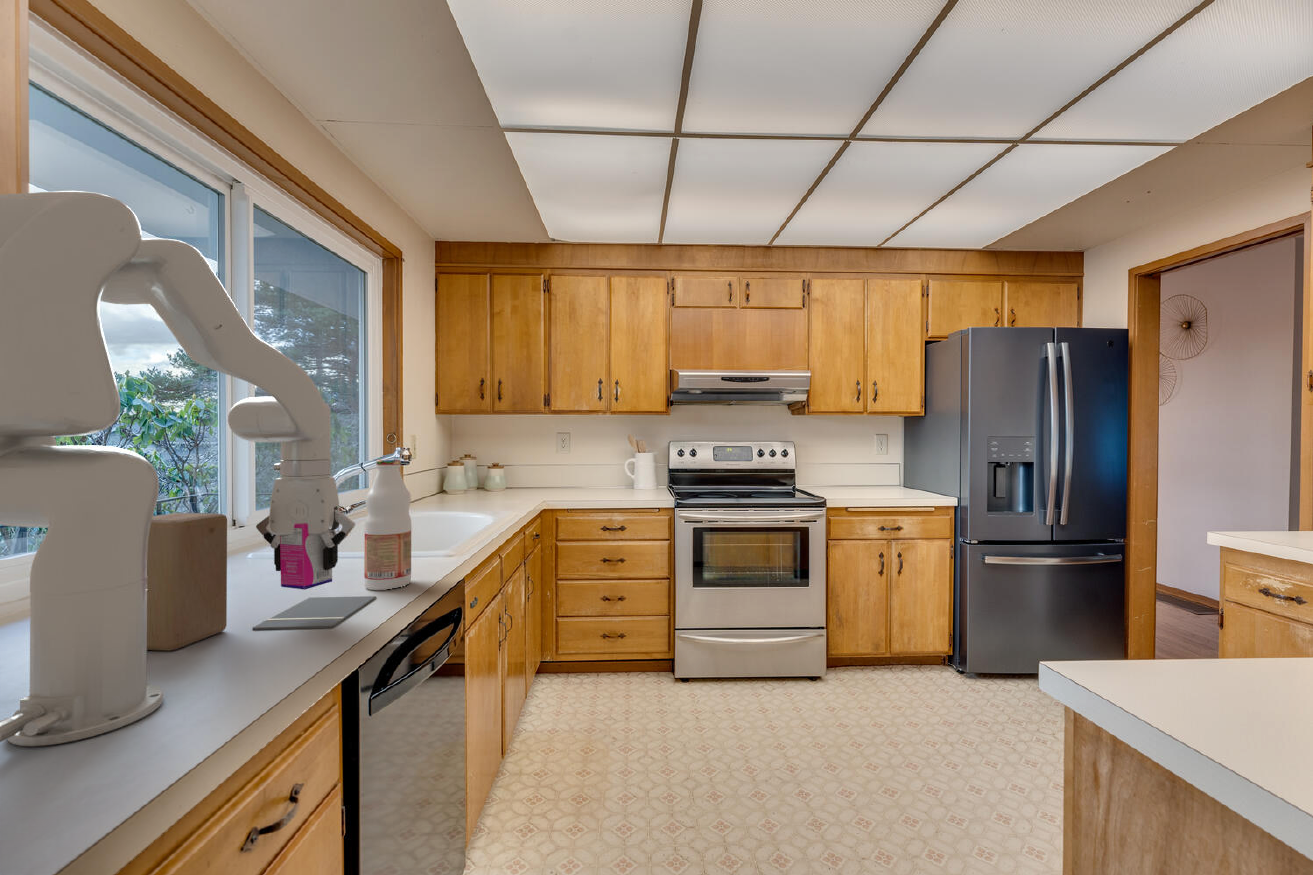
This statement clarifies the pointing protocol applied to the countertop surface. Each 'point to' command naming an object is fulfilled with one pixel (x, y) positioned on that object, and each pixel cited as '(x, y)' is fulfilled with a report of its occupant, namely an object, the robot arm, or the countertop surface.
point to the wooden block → (186, 579)
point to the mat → (316, 613)
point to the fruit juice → (387, 530)
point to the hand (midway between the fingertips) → (306, 568)
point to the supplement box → (302, 559)
